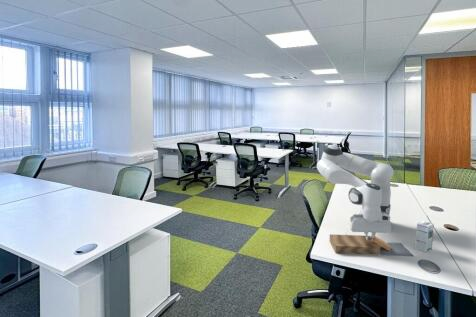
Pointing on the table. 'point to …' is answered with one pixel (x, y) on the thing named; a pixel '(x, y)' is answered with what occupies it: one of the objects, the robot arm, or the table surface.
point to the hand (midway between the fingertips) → (369, 239)
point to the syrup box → (424, 236)
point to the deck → (354, 244)
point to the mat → (395, 250)
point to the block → (381, 243)
